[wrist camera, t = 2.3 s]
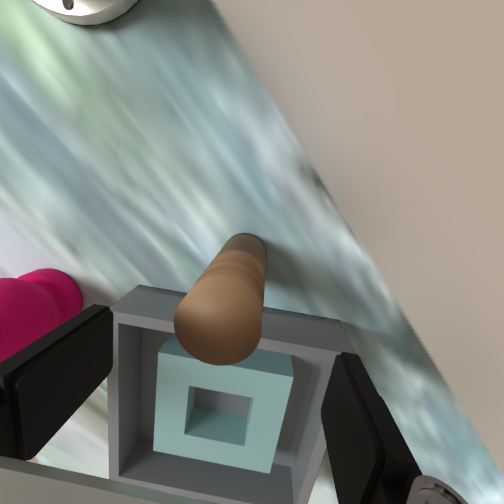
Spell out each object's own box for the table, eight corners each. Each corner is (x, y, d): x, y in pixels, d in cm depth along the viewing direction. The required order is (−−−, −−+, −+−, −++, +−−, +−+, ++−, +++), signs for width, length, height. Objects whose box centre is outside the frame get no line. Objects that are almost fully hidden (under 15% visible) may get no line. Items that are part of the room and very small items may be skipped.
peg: (226, 229, 22) (176, 280, 10) (270, 236, 22) (268, 296, 10) (221, 270, 23) (170, 357, 11) (262, 277, 23) (254, 372, 11)
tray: (139, 284, 24) (106, 309, 19) (339, 320, 23) (356, 355, 19) (135, 433, 30) (109, 481, 25) (297, 464, 29) (302, 520, 24)
